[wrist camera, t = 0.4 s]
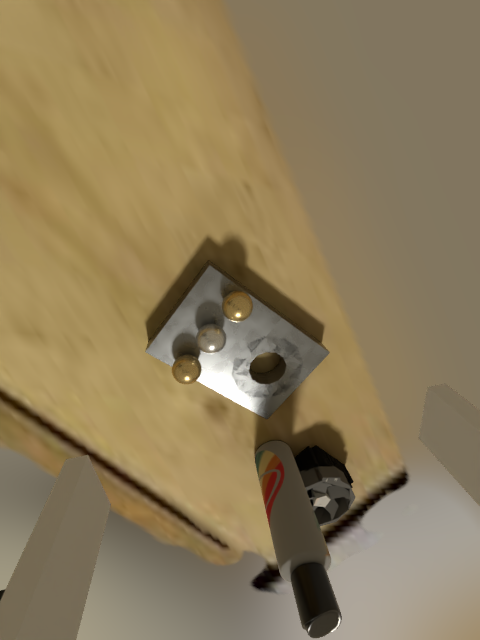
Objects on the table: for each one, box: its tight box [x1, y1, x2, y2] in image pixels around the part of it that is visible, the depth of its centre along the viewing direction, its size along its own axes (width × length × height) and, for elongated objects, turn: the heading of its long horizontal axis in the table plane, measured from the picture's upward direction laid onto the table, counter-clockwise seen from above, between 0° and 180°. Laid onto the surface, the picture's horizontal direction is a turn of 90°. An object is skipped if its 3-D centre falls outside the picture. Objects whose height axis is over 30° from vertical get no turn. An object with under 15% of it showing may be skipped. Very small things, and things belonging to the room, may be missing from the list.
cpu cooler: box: [294, 446, 355, 526], centre depth 46 cm, size 10×6×10 cm
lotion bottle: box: [255, 441, 342, 638], centre depth 36 cm, size 6×6×20 cm
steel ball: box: [196, 324, 226, 354], centre depth 32 cm, size 3×3×3 cm
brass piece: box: [172, 355, 202, 384], centre depth 33 cm, size 3×3×3 cm
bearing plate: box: [145, 260, 330, 419], centre depth 36 cm, size 18×12×2 cm, turn 52°
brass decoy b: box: [222, 291, 253, 322], centre depth 31 cm, size 3×3×3 cm
